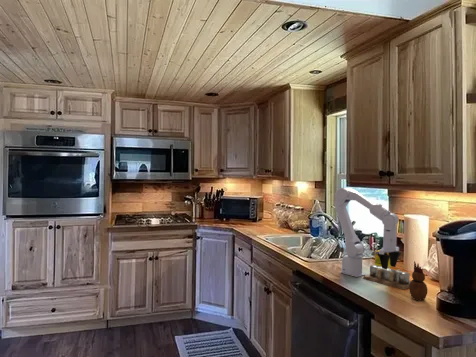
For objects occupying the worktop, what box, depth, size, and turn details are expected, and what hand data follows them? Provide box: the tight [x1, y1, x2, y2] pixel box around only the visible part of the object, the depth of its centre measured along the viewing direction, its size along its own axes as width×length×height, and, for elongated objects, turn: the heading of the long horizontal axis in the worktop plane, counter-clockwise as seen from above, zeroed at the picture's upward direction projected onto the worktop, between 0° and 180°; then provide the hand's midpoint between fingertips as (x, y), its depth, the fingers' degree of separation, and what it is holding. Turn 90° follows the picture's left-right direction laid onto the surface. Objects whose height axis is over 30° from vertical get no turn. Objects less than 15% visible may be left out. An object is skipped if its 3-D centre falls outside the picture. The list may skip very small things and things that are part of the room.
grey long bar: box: [369, 264, 411, 285], centre depth 165 cm, size 19×5×4 cm, turn 38°
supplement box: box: [374, 249, 392, 269], centre depth 182 cm, size 6×6×11 cm
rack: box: [362, 267, 412, 290], centre depth 165 cm, size 20×11×6 cm, turn 38°
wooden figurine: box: [408, 261, 428, 302], centre depth 142 cm, size 7×6×15 cm
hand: (388, 267), depth 165 cm, fingers open, 7 cm apart
